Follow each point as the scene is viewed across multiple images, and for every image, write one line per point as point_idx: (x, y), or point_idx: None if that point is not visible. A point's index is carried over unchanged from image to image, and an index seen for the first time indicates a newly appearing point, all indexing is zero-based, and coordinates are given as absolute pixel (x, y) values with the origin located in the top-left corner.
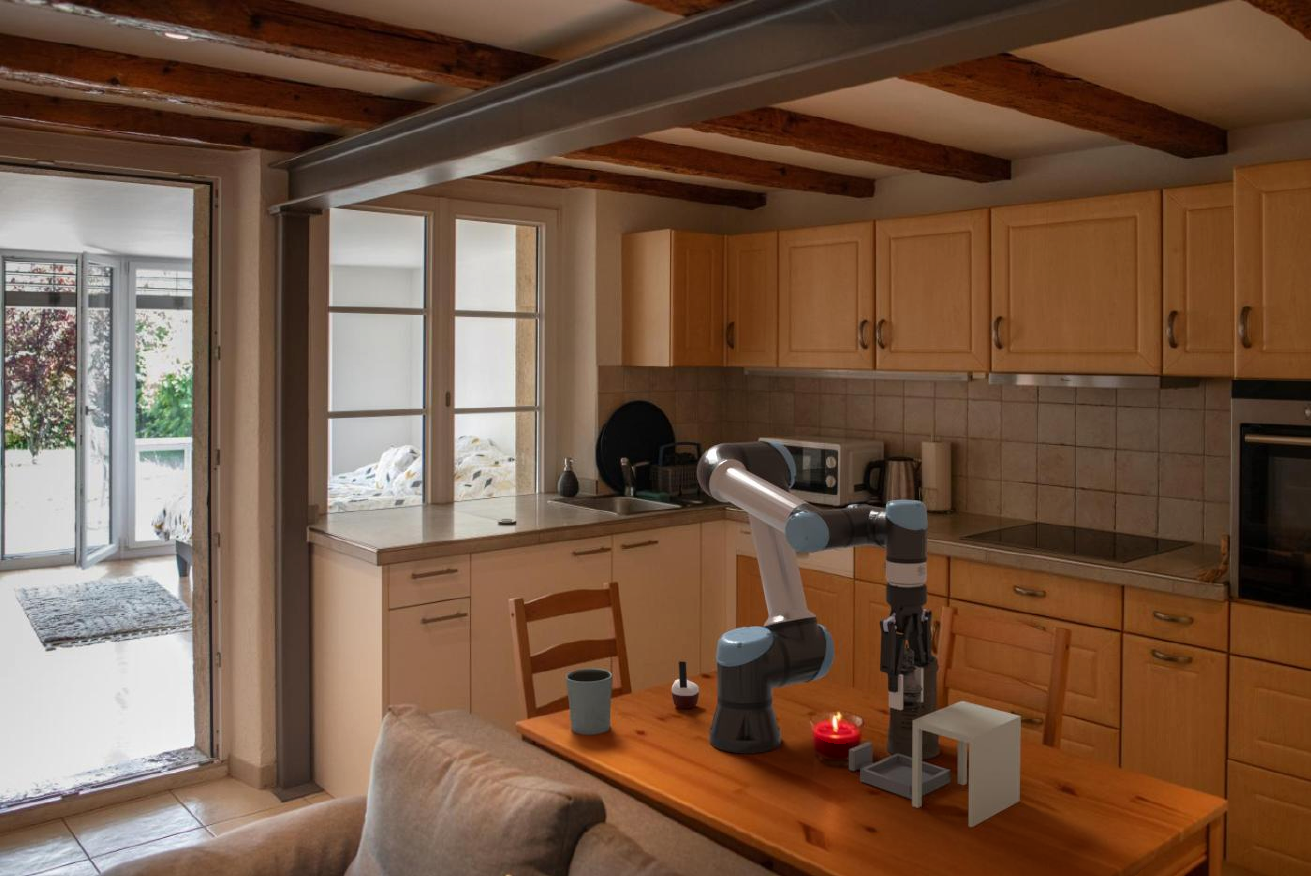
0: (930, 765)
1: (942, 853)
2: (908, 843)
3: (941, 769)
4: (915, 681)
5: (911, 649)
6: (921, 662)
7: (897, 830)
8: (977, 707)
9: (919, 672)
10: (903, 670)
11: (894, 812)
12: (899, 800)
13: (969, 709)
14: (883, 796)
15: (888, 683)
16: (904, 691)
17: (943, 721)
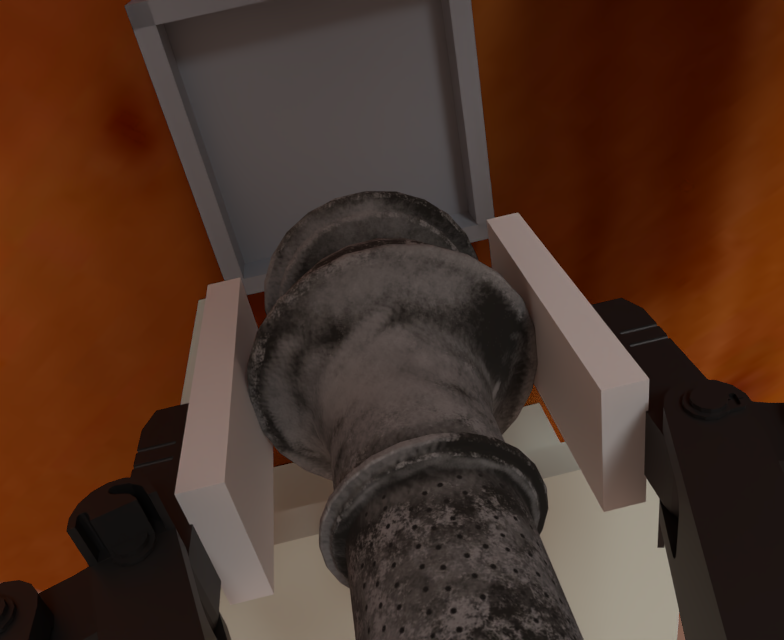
0: (470, 154)
1: (76, 548)
2: (11, 483)
3: (474, 209)
4: (543, 365)
5: (709, 611)
6: (665, 538)
7: (26, 414)
8: (645, 543)
9: (586, 462)
10: (331, 571)
11: (99, 312)
12: (185, 243)
13: (582, 551)
14: (146, 184)
15: (135, 471)
16: (292, 456)
17: (306, 627)
